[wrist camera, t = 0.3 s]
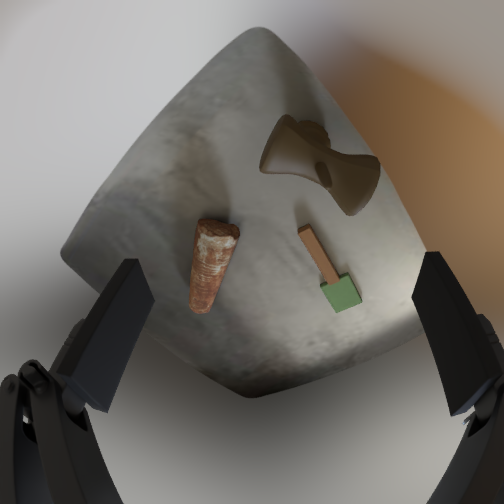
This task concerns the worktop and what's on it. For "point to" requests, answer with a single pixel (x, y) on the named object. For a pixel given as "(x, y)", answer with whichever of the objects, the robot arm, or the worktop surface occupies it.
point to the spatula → (330, 274)
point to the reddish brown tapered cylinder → (210, 261)
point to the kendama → (320, 163)
